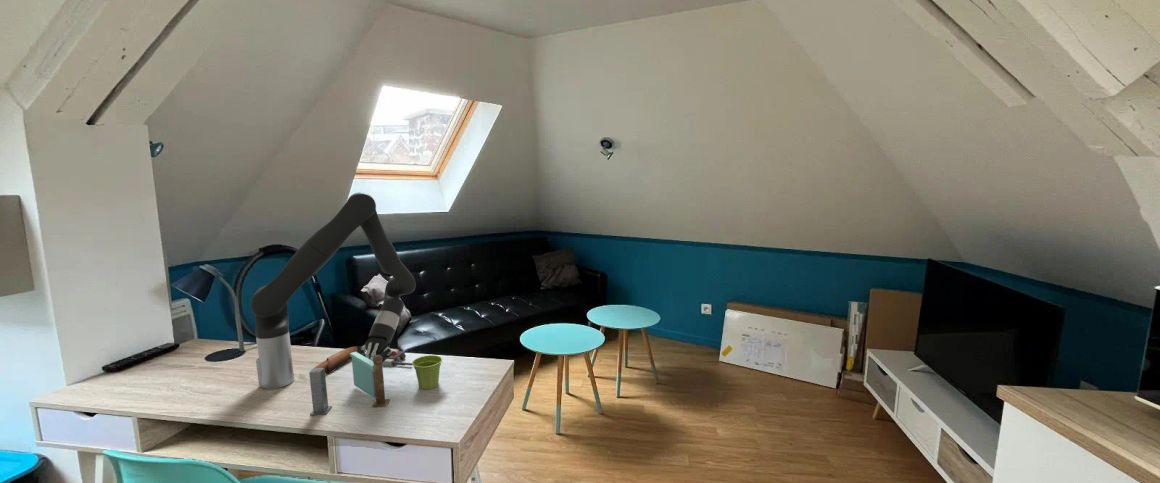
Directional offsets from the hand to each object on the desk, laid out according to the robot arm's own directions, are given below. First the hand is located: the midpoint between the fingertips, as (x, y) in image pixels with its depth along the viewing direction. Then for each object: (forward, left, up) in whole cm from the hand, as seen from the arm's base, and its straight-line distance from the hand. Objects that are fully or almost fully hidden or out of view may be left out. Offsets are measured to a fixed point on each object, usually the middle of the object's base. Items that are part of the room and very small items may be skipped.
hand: (364, 375), depth 154 cm
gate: (+2, -4, -4) cm, 6 cm away
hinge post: (+8, -11, -5) cm, 14 cm away
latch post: (-9, -13, -5) cm, 17 cm away
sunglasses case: (-18, +24, -5) cm, 30 cm away
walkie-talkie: (+3, +22, -5) cm, 23 cm away
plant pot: (+20, 0, -5) cm, 21 cm away
